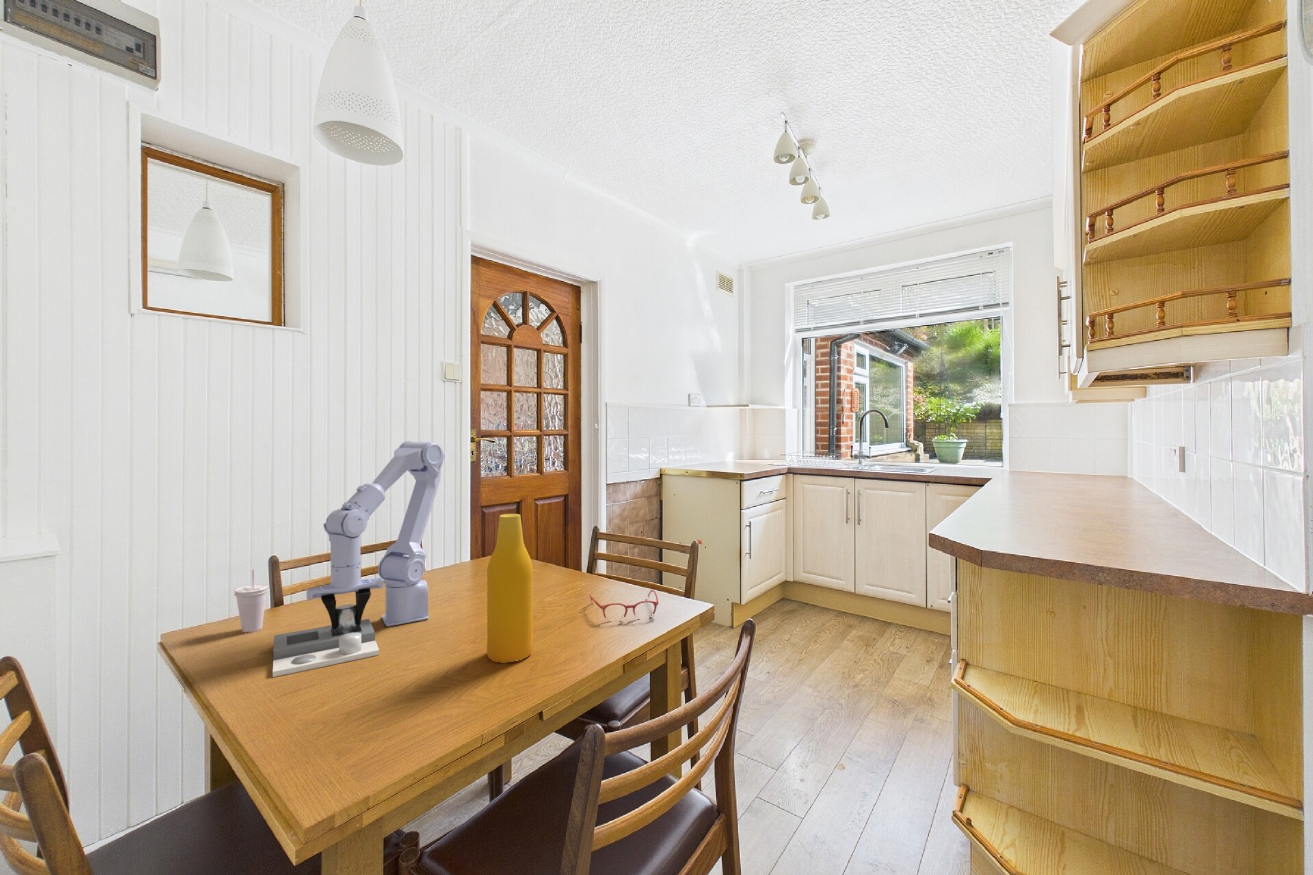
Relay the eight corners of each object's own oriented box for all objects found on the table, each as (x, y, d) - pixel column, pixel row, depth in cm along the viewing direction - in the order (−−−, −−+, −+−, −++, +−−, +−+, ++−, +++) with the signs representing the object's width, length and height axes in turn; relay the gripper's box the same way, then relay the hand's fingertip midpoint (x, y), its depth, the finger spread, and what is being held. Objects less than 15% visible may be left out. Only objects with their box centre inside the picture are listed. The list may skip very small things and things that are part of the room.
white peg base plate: (375, 645, 117) (375, 626, 117) (379, 654, 112) (379, 635, 112) (273, 665, 107) (273, 645, 107) (272, 677, 102) (272, 655, 102)
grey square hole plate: (369, 629, 126) (369, 618, 126) (374, 643, 118) (374, 632, 118) (274, 646, 116) (274, 635, 116) (273, 663, 108) (273, 651, 108)
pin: (354, 629, 122) (354, 603, 122) (358, 634, 119) (358, 607, 119) (334, 633, 119) (333, 606, 119) (337, 639, 116) (337, 611, 116)
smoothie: (250, 635, 122) (249, 574, 122) (227, 633, 123) (226, 572, 123) (275, 625, 128) (275, 566, 128) (253, 623, 129) (252, 565, 129)
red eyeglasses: (595, 626, 130) (595, 605, 130) (587, 604, 145) (587, 586, 145) (665, 620, 134) (665, 600, 134) (650, 600, 149) (650, 582, 149)
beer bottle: (477, 659, 110) (476, 517, 109) (505, 643, 118) (505, 510, 118) (515, 667, 106) (515, 520, 106) (541, 649, 115) (541, 513, 114)
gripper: (378, 556, 126) (379, 613, 127) (305, 565, 118) (305, 627, 118) (384, 562, 121) (385, 622, 121) (307, 572, 112) (308, 637, 112)
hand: (346, 625), depth 119 cm, fingers closed on pin, 4 cm apart
